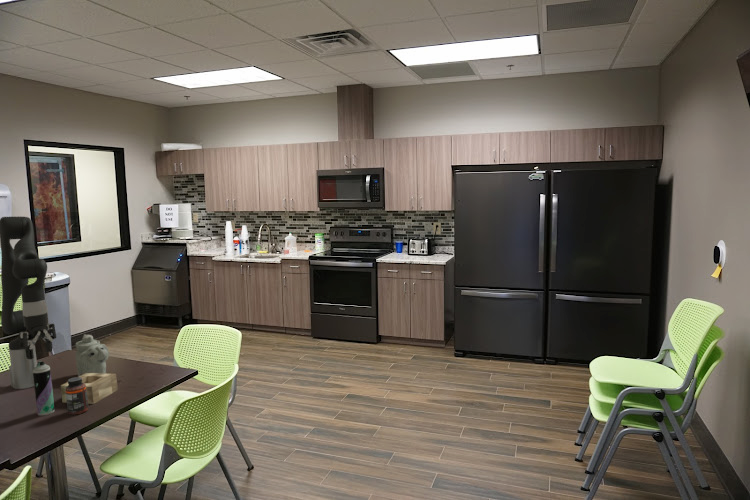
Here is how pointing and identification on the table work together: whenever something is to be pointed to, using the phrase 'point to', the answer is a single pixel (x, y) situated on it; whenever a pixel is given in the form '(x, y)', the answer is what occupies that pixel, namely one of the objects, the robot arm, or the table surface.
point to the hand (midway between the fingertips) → (40, 355)
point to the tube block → (95, 386)
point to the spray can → (43, 389)
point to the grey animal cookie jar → (91, 356)
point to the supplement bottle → (76, 396)
